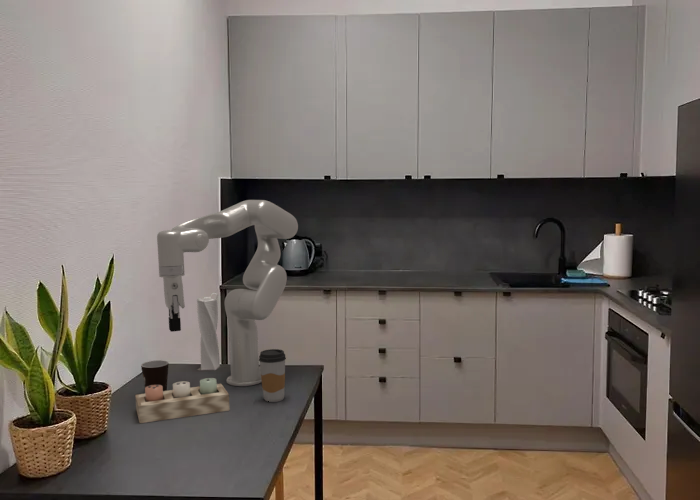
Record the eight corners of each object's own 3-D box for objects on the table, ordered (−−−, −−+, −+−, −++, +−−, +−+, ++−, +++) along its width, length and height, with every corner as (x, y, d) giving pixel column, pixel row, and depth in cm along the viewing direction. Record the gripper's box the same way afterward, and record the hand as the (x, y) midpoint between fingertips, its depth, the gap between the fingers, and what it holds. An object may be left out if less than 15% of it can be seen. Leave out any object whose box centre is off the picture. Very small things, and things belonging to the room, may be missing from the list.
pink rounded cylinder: (162, 400, 222) (161, 383, 221) (164, 404, 217) (163, 387, 217) (145, 402, 220) (144, 385, 220) (146, 407, 216) (145, 390, 215)
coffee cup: (289, 394, 234) (287, 348, 233) (284, 403, 226) (282, 355, 224) (263, 394, 235) (261, 348, 234) (258, 403, 227) (255, 355, 225)
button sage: (215, 393, 228) (214, 376, 227) (218, 397, 223) (217, 380, 222) (199, 395, 226) (198, 378, 225) (201, 399, 221) (201, 383, 221)
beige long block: (222, 399, 232) (221, 383, 232) (229, 410, 221) (228, 394, 220) (136, 410, 223) (135, 394, 223) (139, 423, 212) (138, 406, 211)
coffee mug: (166, 397, 235) (164, 367, 234) (139, 398, 235) (137, 367, 234) (175, 386, 246) (173, 357, 245) (149, 387, 247) (148, 358, 246)
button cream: (189, 396, 225) (188, 379, 224) (191, 401, 220) (190, 384, 220) (172, 398, 223) (171, 382, 223) (174, 403, 218) (173, 386, 218)
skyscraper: (225, 365, 272) (221, 291, 269) (218, 372, 264) (215, 294, 261) (202, 365, 273) (198, 291, 270) (196, 372, 265) (191, 295, 262)
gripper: (187, 273, 219) (191, 334, 221) (180, 267, 233) (183, 324, 235) (162, 275, 216) (165, 336, 218) (156, 268, 231) (159, 326, 233)
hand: (175, 329), depth 227 cm, fingers closed
